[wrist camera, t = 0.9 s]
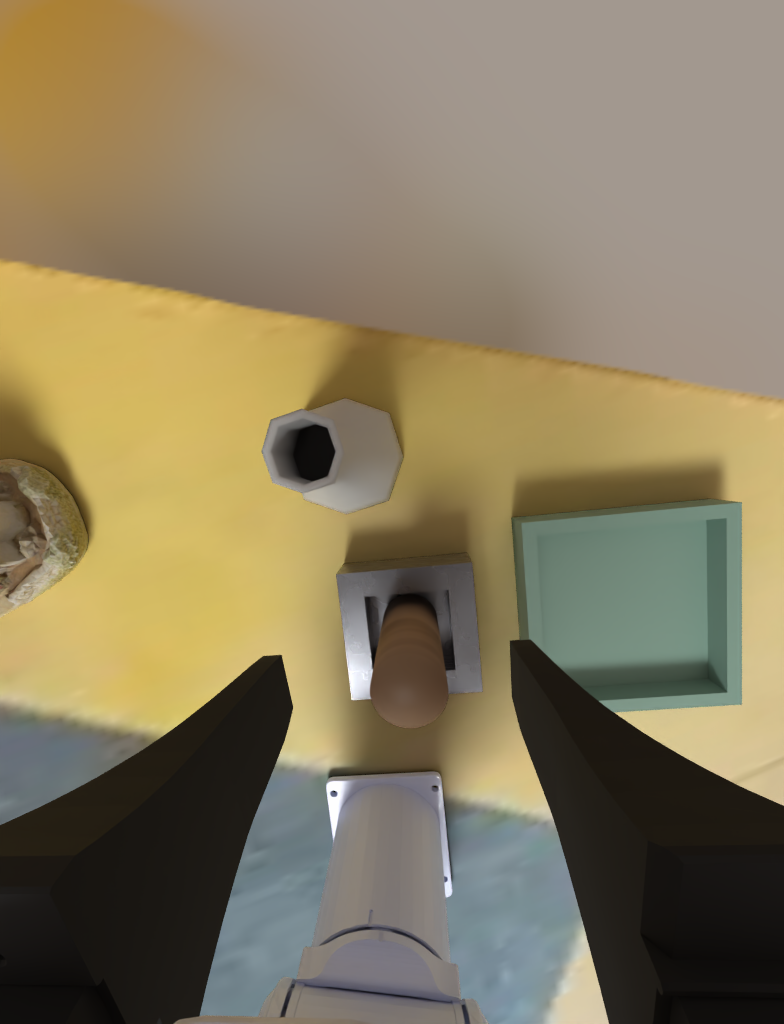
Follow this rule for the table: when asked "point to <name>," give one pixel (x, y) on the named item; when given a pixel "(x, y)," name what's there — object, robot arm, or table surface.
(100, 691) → the table surface
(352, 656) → the square metal dish
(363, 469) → the flask
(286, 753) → the table surface
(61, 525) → the ceramic model
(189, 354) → the table surface
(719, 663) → the tray
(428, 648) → the pin
